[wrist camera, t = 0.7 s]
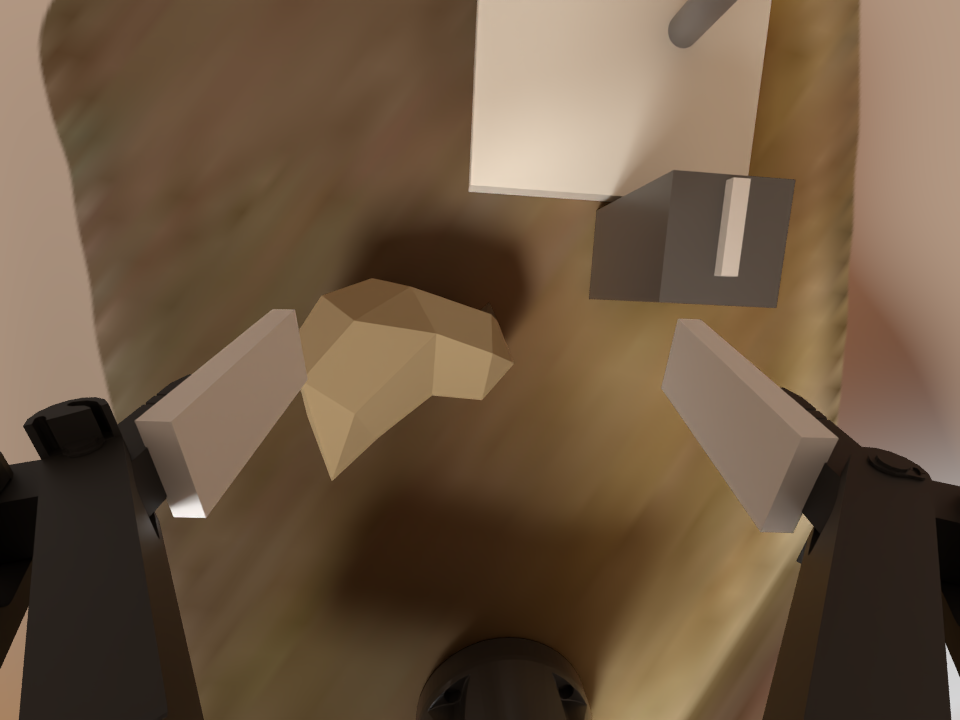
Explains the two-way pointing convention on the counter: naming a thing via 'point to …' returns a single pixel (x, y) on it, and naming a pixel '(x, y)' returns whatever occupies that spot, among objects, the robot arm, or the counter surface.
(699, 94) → the panel
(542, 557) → the counter surface
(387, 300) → the low-poly potato
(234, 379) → the robot arm
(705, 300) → the grey block with stripe
